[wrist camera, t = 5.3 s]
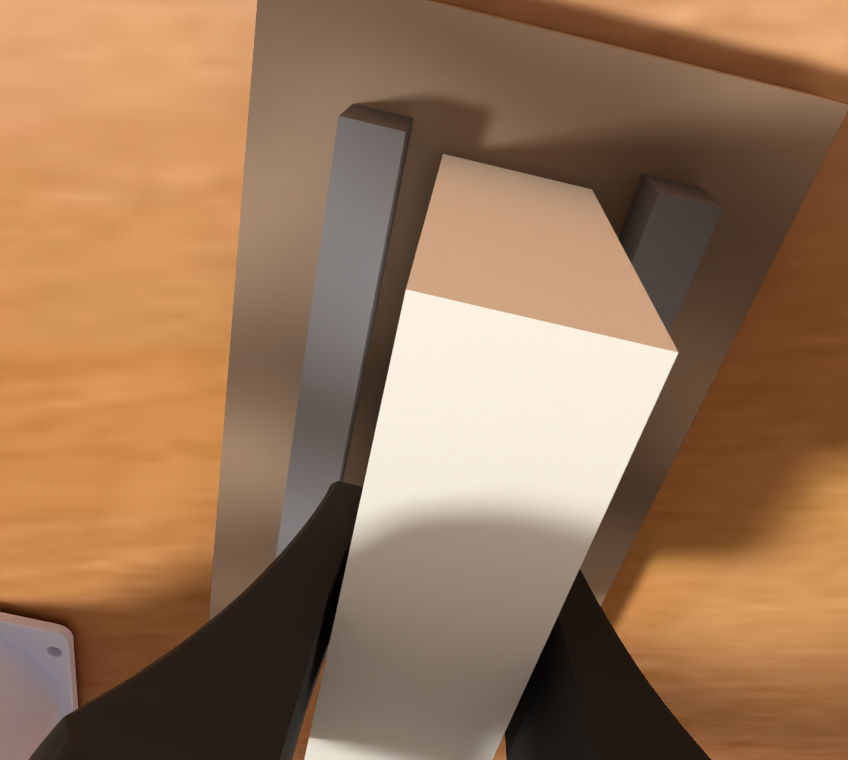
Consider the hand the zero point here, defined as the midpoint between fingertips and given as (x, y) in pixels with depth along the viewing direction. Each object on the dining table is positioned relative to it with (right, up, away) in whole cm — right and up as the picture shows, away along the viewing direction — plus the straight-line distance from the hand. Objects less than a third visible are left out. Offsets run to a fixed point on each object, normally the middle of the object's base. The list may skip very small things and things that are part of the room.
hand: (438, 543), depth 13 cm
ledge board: (0, +3, +5) cm, 5 cm away
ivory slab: (0, +2, +3) cm, 4 cm away
